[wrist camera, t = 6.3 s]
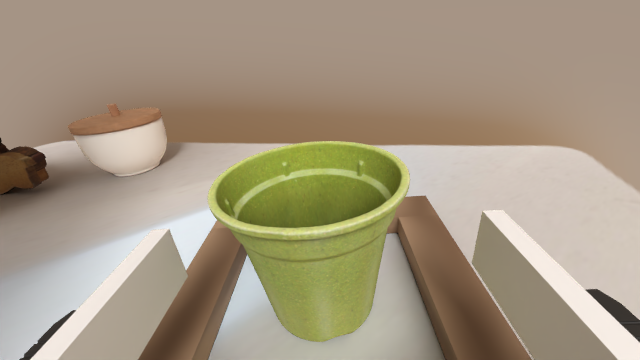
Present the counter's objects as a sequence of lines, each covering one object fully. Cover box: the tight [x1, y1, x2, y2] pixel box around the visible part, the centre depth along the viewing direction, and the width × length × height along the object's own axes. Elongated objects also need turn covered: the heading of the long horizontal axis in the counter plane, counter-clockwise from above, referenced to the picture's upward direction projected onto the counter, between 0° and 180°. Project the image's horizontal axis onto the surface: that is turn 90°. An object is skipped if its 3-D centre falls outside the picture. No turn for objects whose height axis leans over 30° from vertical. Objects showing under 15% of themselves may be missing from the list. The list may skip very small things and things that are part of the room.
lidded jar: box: [68, 104, 167, 177], centre depth 39 cm, size 11×11×9 cm
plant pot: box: [208, 141, 410, 342], centre depth 15 cm, size 9×9×9 cm
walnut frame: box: [138, 196, 531, 360], centre depth 17 cm, size 18×18×2 cm
